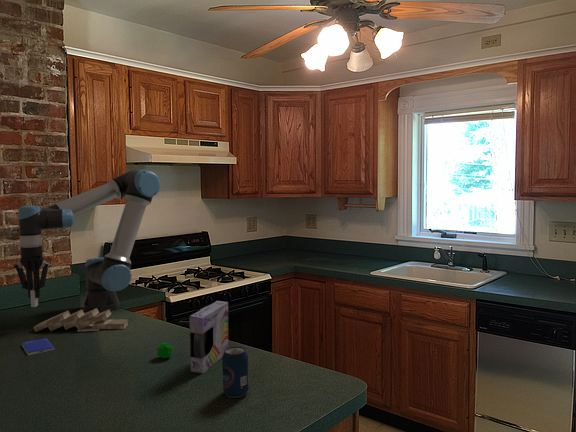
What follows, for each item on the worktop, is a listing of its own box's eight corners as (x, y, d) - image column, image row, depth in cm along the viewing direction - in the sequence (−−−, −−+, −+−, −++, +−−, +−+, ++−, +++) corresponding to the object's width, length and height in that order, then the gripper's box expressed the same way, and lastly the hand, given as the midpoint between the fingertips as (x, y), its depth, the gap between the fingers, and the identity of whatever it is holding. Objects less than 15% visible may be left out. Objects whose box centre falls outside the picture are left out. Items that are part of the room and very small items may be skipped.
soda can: (217, 393, 136) (216, 350, 135) (238, 385, 140) (237, 343, 139) (233, 401, 131) (232, 356, 130) (254, 393, 136) (253, 349, 135)
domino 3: (71, 325, 199) (99, 312, 199) (65, 330, 193) (94, 316, 193) (69, 320, 199) (96, 307, 199) (63, 325, 193) (91, 312, 193)
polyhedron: (175, 355, 165) (175, 341, 164) (168, 361, 160) (167, 346, 159) (162, 354, 166) (161, 340, 166) (154, 360, 161) (153, 345, 161)
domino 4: (83, 325, 199) (111, 313, 199) (77, 329, 193) (107, 318, 193) (81, 320, 199) (109, 309, 199) (75, 325, 193) (104, 313, 193)
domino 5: (97, 324, 199) (127, 324, 200) (92, 329, 194) (124, 328, 195) (96, 319, 199) (127, 319, 200) (92, 324, 193) (124, 323, 194)
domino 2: (57, 326, 199) (84, 313, 199) (50, 331, 193) (78, 318, 193) (54, 322, 198) (82, 309, 198) (48, 326, 192) (76, 313, 192)
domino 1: (42, 327, 198) (70, 314, 198) (35, 332, 192) (64, 319, 192) (40, 322, 198) (68, 310, 198) (33, 327, 192) (62, 314, 192)
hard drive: (21, 342, 177) (27, 352, 167) (47, 337, 182) (54, 347, 172) (22, 346, 177) (28, 357, 167) (47, 342, 182) (54, 351, 172)
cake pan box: (202, 375, 148) (200, 317, 147) (187, 373, 150) (185, 315, 148) (230, 353, 166) (229, 301, 165) (216, 351, 168) (215, 300, 166)
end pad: (104, 324, 201) (104, 323, 201) (98, 330, 193) (98, 329, 193) (84, 325, 200) (84, 324, 200) (77, 331, 192) (77, 330, 192)
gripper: (52, 244, 196) (55, 303, 198) (18, 244, 196) (21, 304, 198) (44, 246, 189) (48, 308, 191) (9, 247, 188) (12, 309, 190)
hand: (34, 306), depth 194 cm, fingers closed
